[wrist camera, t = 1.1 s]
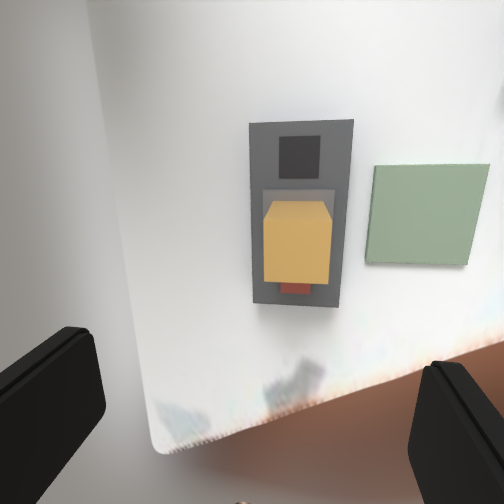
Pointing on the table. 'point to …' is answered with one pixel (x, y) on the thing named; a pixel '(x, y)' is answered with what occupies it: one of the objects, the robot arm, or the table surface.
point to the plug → (297, 235)
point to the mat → (424, 213)
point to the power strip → (299, 177)
